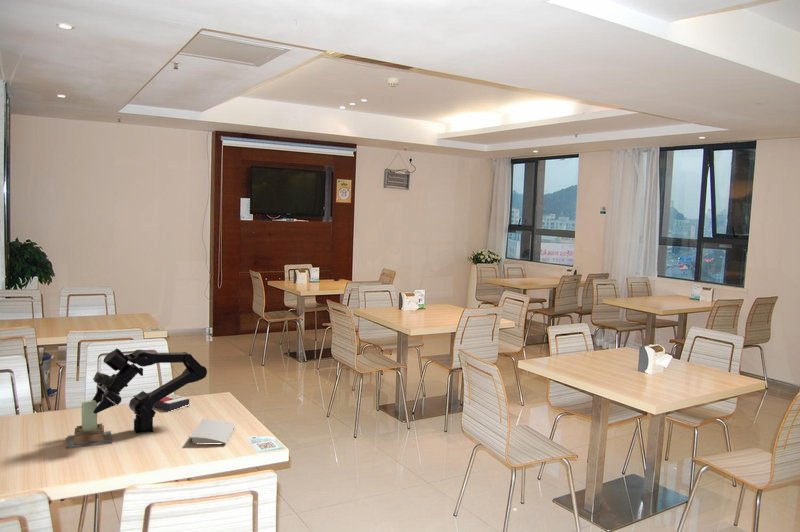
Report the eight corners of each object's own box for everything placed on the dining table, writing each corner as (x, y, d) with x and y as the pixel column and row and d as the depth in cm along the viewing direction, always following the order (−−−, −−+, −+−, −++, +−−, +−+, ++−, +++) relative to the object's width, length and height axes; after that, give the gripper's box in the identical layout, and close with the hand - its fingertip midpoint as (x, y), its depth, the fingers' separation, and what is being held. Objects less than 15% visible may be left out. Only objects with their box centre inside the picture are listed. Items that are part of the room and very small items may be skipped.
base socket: (110, 432, 240) (110, 421, 240) (111, 443, 230) (111, 431, 229) (67, 437, 234) (67, 425, 233) (66, 448, 223) (66, 436, 223)
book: (183, 448, 229) (183, 438, 229) (198, 427, 252) (198, 418, 252) (225, 448, 230) (225, 438, 230) (236, 427, 253) (236, 418, 253)
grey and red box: (169, 392, 285) (189, 397, 277) (169, 401, 285) (189, 406, 277) (148, 397, 276) (168, 402, 268) (148, 406, 276) (168, 412, 268)
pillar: (95, 428, 235) (95, 400, 234) (97, 431, 231) (97, 403, 230) (81, 430, 232) (81, 401, 231) (83, 433, 228) (83, 405, 227)
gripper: (102, 359, 241) (71, 390, 235) (111, 370, 225) (78, 403, 220) (124, 376, 246) (94, 407, 240) (134, 388, 231) (102, 421, 225)
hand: (92, 409), depth 231 cm, fingers open, 9 cm apart
